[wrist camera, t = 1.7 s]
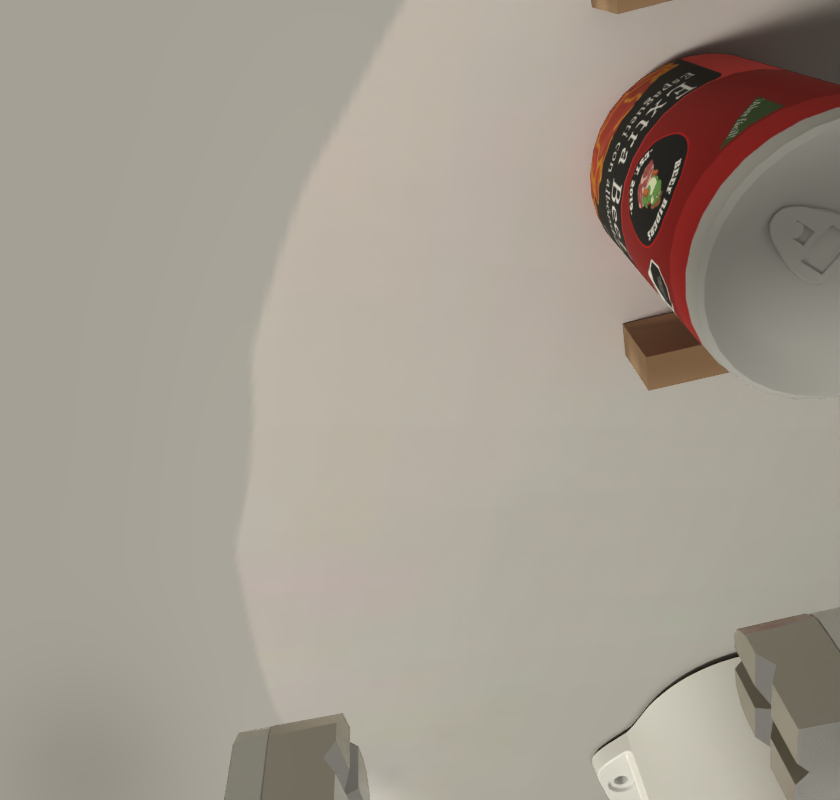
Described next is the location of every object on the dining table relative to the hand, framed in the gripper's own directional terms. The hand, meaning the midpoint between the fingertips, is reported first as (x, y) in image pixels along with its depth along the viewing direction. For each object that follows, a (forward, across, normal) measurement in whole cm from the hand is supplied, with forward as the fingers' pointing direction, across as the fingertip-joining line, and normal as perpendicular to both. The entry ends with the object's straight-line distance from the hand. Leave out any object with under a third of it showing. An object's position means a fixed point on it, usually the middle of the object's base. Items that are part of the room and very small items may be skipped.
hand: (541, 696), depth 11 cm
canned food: (+21, -10, 0) cm, 24 cm away
